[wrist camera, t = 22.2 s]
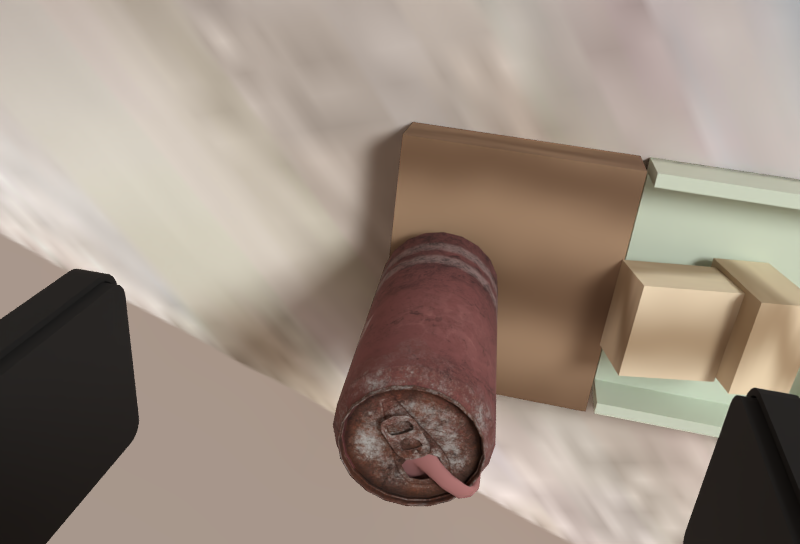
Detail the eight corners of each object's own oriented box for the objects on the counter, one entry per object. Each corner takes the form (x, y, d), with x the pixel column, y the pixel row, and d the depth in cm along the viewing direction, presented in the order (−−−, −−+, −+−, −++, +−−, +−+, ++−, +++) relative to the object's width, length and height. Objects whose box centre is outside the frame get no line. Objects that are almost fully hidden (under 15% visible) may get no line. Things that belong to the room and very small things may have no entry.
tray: (650, 157, 37) (657, 173, 34) (909, 196, 35) (938, 215, 33) (591, 384, 43) (594, 413, 40) (811, 426, 41) (829, 459, 39)
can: (461, 350, 40) (442, 543, 28) (364, 293, 39) (299, 465, 27) (524, 269, 38) (535, 442, 25) (421, 206, 37) (379, 352, 24)
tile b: (761, 302, 33) (823, 308, 33) (713, 258, 37) (768, 262, 38) (728, 393, 35) (786, 398, 35) (686, 340, 39) (738, 345, 40)
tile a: (622, 259, 36) (644, 285, 34) (715, 267, 37) (745, 293, 34) (599, 344, 38) (618, 375, 36) (688, 350, 39) (713, 381, 36)
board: (413, 122, 39) (402, 134, 36) (640, 156, 37) (647, 171, 34) (387, 345, 45) (377, 370, 42) (583, 383, 43) (585, 411, 40)
